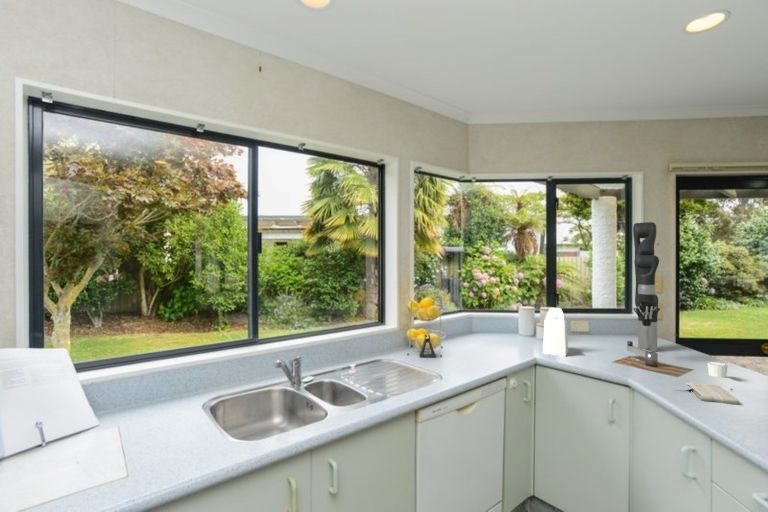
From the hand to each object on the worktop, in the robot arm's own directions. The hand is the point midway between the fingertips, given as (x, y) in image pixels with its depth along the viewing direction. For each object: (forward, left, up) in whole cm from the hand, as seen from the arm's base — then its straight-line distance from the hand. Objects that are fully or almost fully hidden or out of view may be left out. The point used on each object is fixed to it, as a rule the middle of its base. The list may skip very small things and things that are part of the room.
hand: (646, 325), depth 194 cm
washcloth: (+30, +35, -20) cm, 50 cm away
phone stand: (+90, -72, -19) cm, 116 cm away
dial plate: (+11, +6, -19) cm, 23 cm away
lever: (+7, +1, -17) cm, 19 cm away
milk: (+24, -36, -19) cm, 48 cm away
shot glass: (+3, +30, -19) cm, 35 cm away
